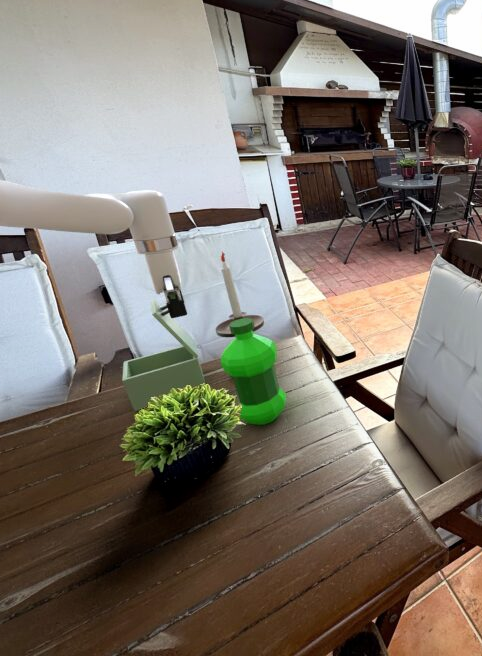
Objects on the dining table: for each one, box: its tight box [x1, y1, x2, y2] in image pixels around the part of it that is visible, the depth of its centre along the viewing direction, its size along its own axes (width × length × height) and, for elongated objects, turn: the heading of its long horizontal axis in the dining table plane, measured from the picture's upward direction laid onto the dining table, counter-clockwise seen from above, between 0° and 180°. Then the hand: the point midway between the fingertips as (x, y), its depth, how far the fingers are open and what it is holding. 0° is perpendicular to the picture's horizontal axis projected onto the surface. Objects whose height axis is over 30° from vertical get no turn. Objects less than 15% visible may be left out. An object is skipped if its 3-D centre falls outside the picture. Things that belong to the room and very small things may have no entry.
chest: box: [121, 345, 206, 412], centre depth 102 cm, size 14×11×9 cm
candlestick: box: [215, 251, 265, 338], centre depth 106 cm, size 11×11×35 cm
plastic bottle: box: [220, 318, 287, 426], centre depth 89 cm, size 10×10×25 cm
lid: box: [150, 298, 199, 358], centre depth 102 cm, size 15×11×5 cm
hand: (178, 310), depth 100 cm, fingers open, 8 cm apart
